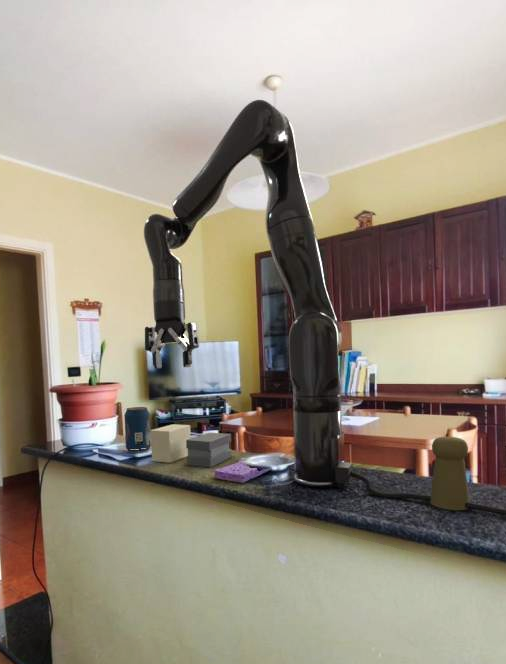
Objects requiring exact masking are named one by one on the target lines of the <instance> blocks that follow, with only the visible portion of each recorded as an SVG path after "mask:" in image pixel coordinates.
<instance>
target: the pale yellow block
mask: <svg viewBox="0 0 506 664" xmlns="http://www.w3.org/2000/svg"><path fill="white" fill-rule="evenodd" d="M150 434H151V441H165V442H170V441H173V440H176V439H179V438H182V437H186V436H189V435H190V436H191V424H176V423H175V424H174V423H173V424H169V425H168V424H167V425H165V426H161V427H157V428H153V429H150Z"/></svg>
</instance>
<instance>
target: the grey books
mask: <svg viewBox="0 0 506 664" xmlns="http://www.w3.org/2000/svg"><path fill="white" fill-rule="evenodd" d="M230 443H232V434H231V433H221V432H206V433H203V434H201V435H197V436H194V437H190V439H188V440H186V448H188V456H186V465H187V466H192V467H193V466H194V467H202V468H203V467H204V468H212V467H214V466H217V465H218V464H221V463H222V462H225V461H226V460H228V459H230V458H232V449H231V448H230Z"/></svg>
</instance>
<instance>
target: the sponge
mask: <svg viewBox="0 0 506 664" xmlns="http://www.w3.org/2000/svg"><path fill="white" fill-rule="evenodd" d="M243 460H244V459H242V460H240V461H238V462H235V463H231V464H229V465H225V466H224V467H221V468H216V469H214V478H216V479H219V480H223V481H230V482H235V483H242V484H243V483H245V482H248V481H250V480H251V479H254V478H257V477H258V476H261V475H263V474H265V473H267V472H269V471H271V470H272V469H263V470H261V471H258V470H257V468H250V467H249V466H247V465H246V464H244V463H242V461H243Z"/></svg>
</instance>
